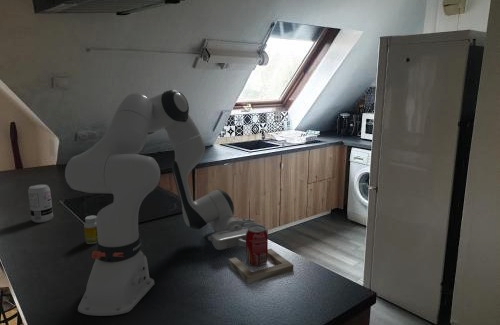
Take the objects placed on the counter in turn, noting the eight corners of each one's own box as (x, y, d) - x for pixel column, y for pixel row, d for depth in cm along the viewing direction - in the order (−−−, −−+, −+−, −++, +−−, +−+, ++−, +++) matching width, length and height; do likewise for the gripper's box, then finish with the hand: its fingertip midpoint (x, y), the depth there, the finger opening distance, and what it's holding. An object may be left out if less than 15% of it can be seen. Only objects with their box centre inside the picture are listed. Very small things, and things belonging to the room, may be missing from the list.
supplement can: (32, 218, 163) (27, 185, 160) (53, 215, 167) (49, 183, 164) (31, 224, 156) (26, 190, 153) (53, 221, 160) (49, 187, 157)
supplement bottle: (88, 238, 142) (86, 214, 140) (103, 238, 142) (100, 214, 140) (83, 244, 137) (80, 219, 135) (98, 244, 137) (95, 219, 135)
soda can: (252, 256, 127) (252, 222, 124) (271, 260, 124) (271, 226, 121) (242, 264, 121) (241, 230, 118) (261, 269, 118) (261, 234, 115)
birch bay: (293, 270, 117) (293, 264, 116) (248, 283, 109) (248, 277, 109) (270, 253, 129) (270, 248, 128) (228, 264, 121) (228, 258, 121)
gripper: (205, 228, 130) (222, 242, 118) (256, 217, 140) (276, 230, 128) (206, 244, 131) (222, 260, 120) (256, 233, 141) (276, 247, 129)
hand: (250, 245), depth 124 cm, fingers closed, pressing on soda can
